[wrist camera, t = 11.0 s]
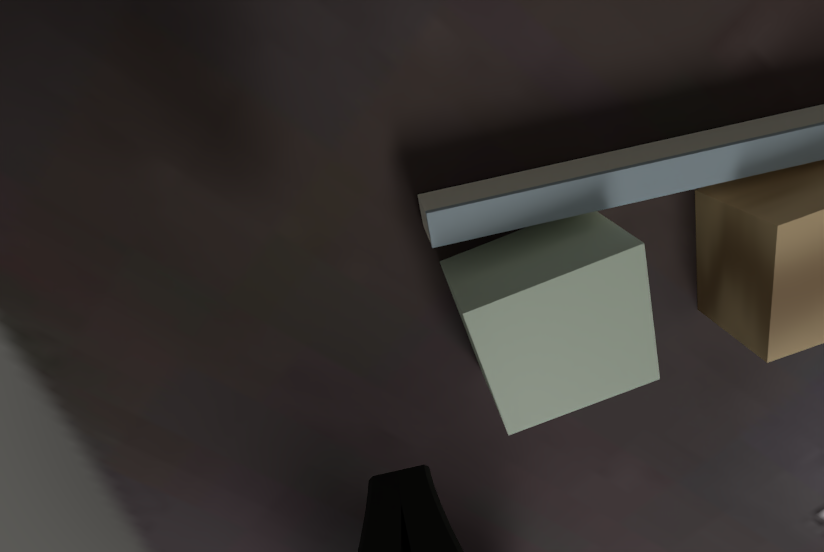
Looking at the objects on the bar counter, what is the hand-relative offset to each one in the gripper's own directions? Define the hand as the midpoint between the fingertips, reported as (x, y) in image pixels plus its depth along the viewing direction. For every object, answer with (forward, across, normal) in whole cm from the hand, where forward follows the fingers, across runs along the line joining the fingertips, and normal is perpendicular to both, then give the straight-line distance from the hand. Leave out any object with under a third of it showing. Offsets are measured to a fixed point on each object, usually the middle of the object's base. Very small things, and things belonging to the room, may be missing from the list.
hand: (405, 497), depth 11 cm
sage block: (+9, -6, +1) cm, 11 cm away
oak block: (+9, -16, 0) cm, 19 cm away
